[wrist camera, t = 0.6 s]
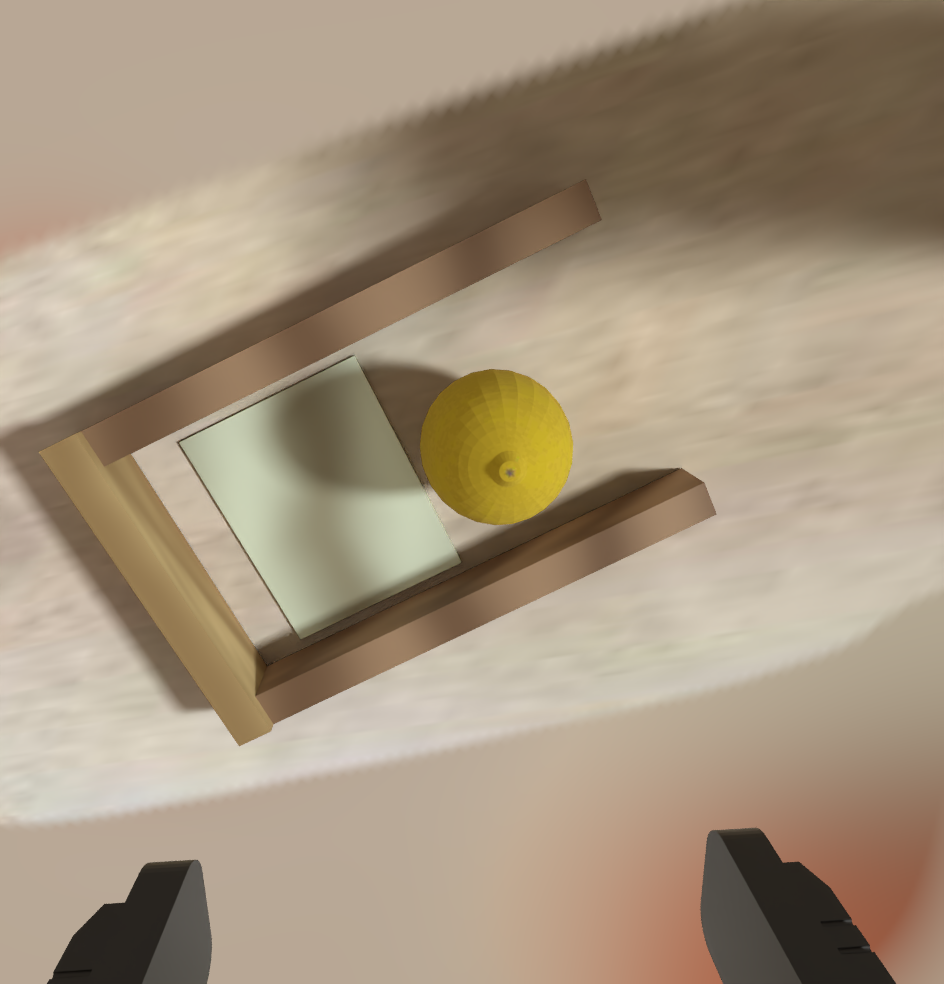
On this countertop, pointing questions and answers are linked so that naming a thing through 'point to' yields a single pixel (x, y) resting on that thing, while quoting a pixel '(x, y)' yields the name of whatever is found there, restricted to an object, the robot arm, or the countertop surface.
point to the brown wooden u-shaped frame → (334, 500)
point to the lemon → (496, 447)
